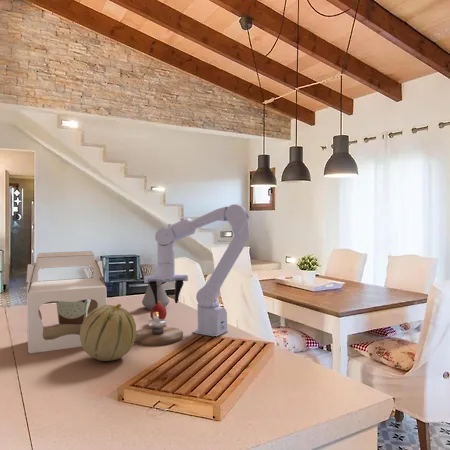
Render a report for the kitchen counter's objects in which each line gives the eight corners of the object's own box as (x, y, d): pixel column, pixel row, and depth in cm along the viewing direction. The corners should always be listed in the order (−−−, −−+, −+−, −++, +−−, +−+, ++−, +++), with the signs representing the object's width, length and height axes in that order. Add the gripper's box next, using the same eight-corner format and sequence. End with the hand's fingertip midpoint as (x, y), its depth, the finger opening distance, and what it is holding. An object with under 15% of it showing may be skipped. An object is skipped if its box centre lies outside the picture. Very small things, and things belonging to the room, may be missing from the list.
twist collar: (167, 327, 129) (167, 321, 129) (149, 328, 128) (149, 322, 128) (163, 317, 143) (163, 311, 143) (147, 318, 142) (147, 312, 142)
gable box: (27, 354, 116) (26, 255, 116) (26, 341, 128) (25, 252, 128) (107, 343, 126) (107, 252, 126) (100, 332, 138) (99, 249, 138)
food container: (94, 321, 154) (94, 294, 153) (87, 325, 147) (87, 297, 147) (63, 320, 155) (62, 293, 155) (54, 324, 149) (54, 297, 148)
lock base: (192, 335, 134) (192, 324, 134) (160, 348, 120) (160, 336, 120) (155, 328, 142) (155, 318, 142) (121, 340, 129) (121, 329, 129)
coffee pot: (138, 307, 177) (137, 272, 177) (162, 304, 183) (162, 270, 183) (157, 317, 159) (156, 278, 159) (184, 313, 165) (183, 276, 165)
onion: (158, 326, 145) (158, 303, 145) (147, 323, 149) (146, 301, 149) (169, 323, 150) (169, 301, 150) (158, 320, 153) (158, 299, 153)
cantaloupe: (79, 354, 116) (79, 301, 116) (132, 348, 121) (132, 297, 121) (80, 372, 102) (80, 312, 102) (140, 364, 107) (140, 307, 107)
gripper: (185, 261, 145) (186, 299, 145) (143, 262, 142) (144, 301, 142) (188, 263, 138) (188, 303, 138) (144, 264, 135) (144, 305, 135)
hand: (166, 303), depth 140 cm, fingers open, 6 cm apart
